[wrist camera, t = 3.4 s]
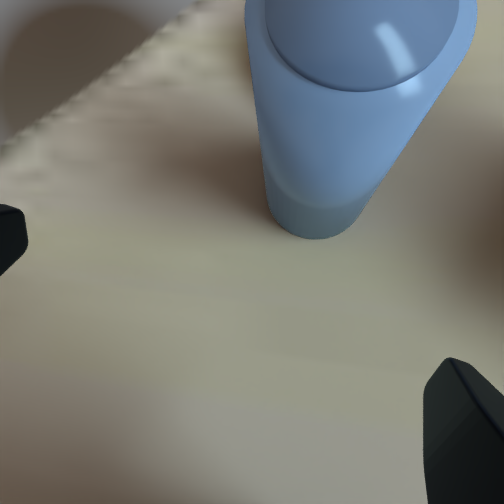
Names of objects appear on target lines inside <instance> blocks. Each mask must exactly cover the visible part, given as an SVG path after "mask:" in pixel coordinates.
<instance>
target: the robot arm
mask: <svg viewBox="0 0 504 504" xmlns="http://www.w3.org/2000/svg"><path fill="white" fill-rule="evenodd" d="M27 246H28V235H27V229H26V222H25V216H24V214H23V212H22V211H21V210H20V209H17V208H14V207H11V206H9V205H5V204H0V276H1V275H2V274H3V273H4V272H5V271H6V270H7V269H8V268H9V267H10V266H12V265H13V264H14V263H15V262H16V261H17V260H18V259H19V258H20V257H21V256H22V255H23V254H24V252H25V251H26V249H27ZM423 463H424V474H425V483H426V491H427V499H428V504H504V396H503V395H502V394H501V393H500V392H499V391H498V390H497V389H496V388H495V387H494V386H493V385H492V384H491V383H490V382H489V381H488V380H487V379H485V378H484V377H483V376H482V375H481V374H480V373H479V372H478V371H477V370H476V369H475V368H474V367H473V366H472V365H470V364H469V363H466V362H464V361H461V360H458V359H455V358H451V357H449V358H446V359H445V360H444V361H443V362H442V363H441V364H440V366H439V367H438V368H437V370H436V371H435V372H434V374H433V375H432V376H431V378H430V379H429V380H428V382H427V384H426V386H425V389H424V394H423Z"/></svg>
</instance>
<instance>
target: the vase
mask: <svg viewBox="0 0 504 504" xmlns="http://www.w3.org/2000/svg"><path fill="white" fill-rule="evenodd" d="M476 22H477V2H476V0H246V3H245V28H246V36H247V43H248V51H249V59H250V67H251V75H252V83H253V91H254V99H255V107H256V115H257V123H258V131H259V139H260V147H261V155H262V163H263V171H264V179H265V187H266V195H267V202H268V205H269V209H270V211H271V213H272V215H273V216H274V218H275V219H276V221H277V222H278V223H279V224H280V225H281V226H282V227H283V228H284V229H286V230H287V231H288V232H290V233H292V234H294V235H296V236H299V237H302V238H306V239H325V238H329V237H333V236H335V235H338V234H340V233H341V232H343V231H345V230H346V229H347V228H349V227H350V226H351V225H352V224H353V223H354V222H355V220H356V219H357V218H358V216H359V215H360V213H361V212H362V210H363V209H364V207H365V206H366V204H367V203H368V201H369V200H370V198H371V197H372V195H373V194H374V192H375V191H376V189H377V188H378V186H379V185H380V183H381V182H382V180H383V179H384V177H385V176H386V174H387V173H388V171H389V170H390V168H391V167H392V165H393V164H394V162H395V161H396V159H397V158H398V156H399V155H400V153H401V151H402V150H403V148H404V147H405V145H406V144H407V142H408V141H409V139H410V138H411V136H412V135H413V133H414V132H415V130H416V129H417V127H418V126H419V124H420V123H421V121H422V120H423V118H424V117H425V115H426V114H427V112H428V111H429V109H430V108H431V106H432V105H433V103H434V102H435V100H436V99H437V97H438V96H439V94H440V93H441V91H442V90H443V88H444V87H445V85H446V84H447V82H448V81H449V79H450V78H451V76H452V75H453V73H454V72H455V70H456V69H457V67H458V66H459V64H460V63H461V61H462V60H463V58H464V56H465V54H466V53H467V51H468V49H469V47H470V44H471V41H472V39H473V36H474V32H475V27H476Z"/></svg>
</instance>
